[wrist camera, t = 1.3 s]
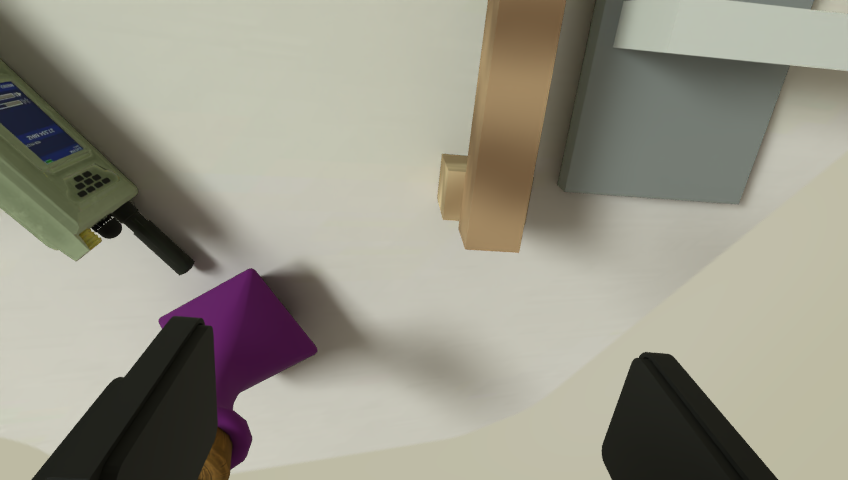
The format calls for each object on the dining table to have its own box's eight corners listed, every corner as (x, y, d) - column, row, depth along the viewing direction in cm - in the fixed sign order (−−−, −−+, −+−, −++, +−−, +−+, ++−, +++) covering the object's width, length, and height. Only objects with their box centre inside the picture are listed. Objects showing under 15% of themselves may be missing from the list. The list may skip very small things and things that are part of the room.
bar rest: (486, -253, 24) (503, -304, 20) (585, -238, 24) (620, -285, 20) (437, 197, 33) (442, 219, 29) (510, 202, 33) (524, 224, 29)
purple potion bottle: (264, 245, 33) (139, 460, 17) (325, 325, 36) (268, 574, 20) (176, 294, 34) (-21, 540, 18) (242, 367, 37) (124, 637, 21)
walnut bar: (529, -317, 20) (551, -372, 17) (600, -305, 20) (633, -358, 17) (458, 228, 29) (465, 249, 27) (507, 231, 30) (519, 252, 27)
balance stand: (635, -191, 25) (728, -273, 18) (851, -159, 26) (1015, -225, 19) (557, 185, 33) (600, 227, 26) (724, 197, 34) (808, 240, 27)
